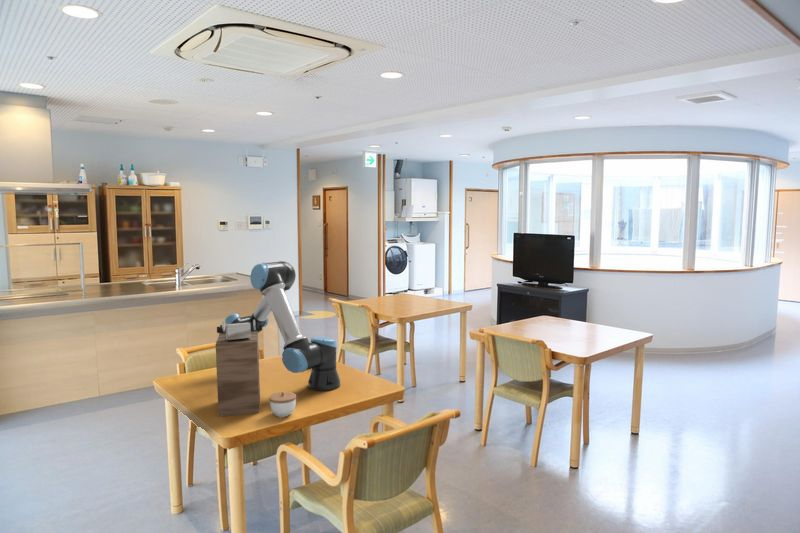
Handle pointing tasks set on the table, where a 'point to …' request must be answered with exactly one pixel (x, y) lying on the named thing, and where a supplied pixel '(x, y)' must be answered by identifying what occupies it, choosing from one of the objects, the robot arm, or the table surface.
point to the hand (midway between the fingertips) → (238, 323)
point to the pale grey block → (238, 331)
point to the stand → (238, 375)
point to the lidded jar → (282, 403)
